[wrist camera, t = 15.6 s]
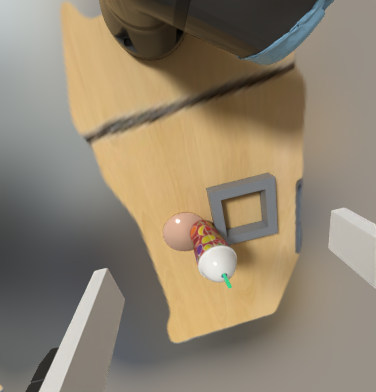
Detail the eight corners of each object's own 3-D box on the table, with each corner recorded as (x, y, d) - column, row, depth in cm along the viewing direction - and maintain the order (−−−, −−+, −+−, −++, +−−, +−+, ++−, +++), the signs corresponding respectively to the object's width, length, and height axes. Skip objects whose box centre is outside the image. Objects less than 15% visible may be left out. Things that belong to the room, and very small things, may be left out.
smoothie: (219, 235, 54) (255, 293, 36) (191, 247, 54) (214, 311, 36) (211, 210, 51) (247, 260, 33) (181, 222, 51) (201, 279, 32)
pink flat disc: (157, 218, 51) (157, 219, 50) (202, 207, 51) (202, 208, 50) (169, 254, 55) (169, 255, 55) (210, 244, 55) (210, 245, 55)
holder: (206, 188, 49) (208, 193, 46) (267, 172, 49) (275, 176, 46) (216, 239, 55) (219, 247, 52) (271, 225, 55) (277, 232, 52)
